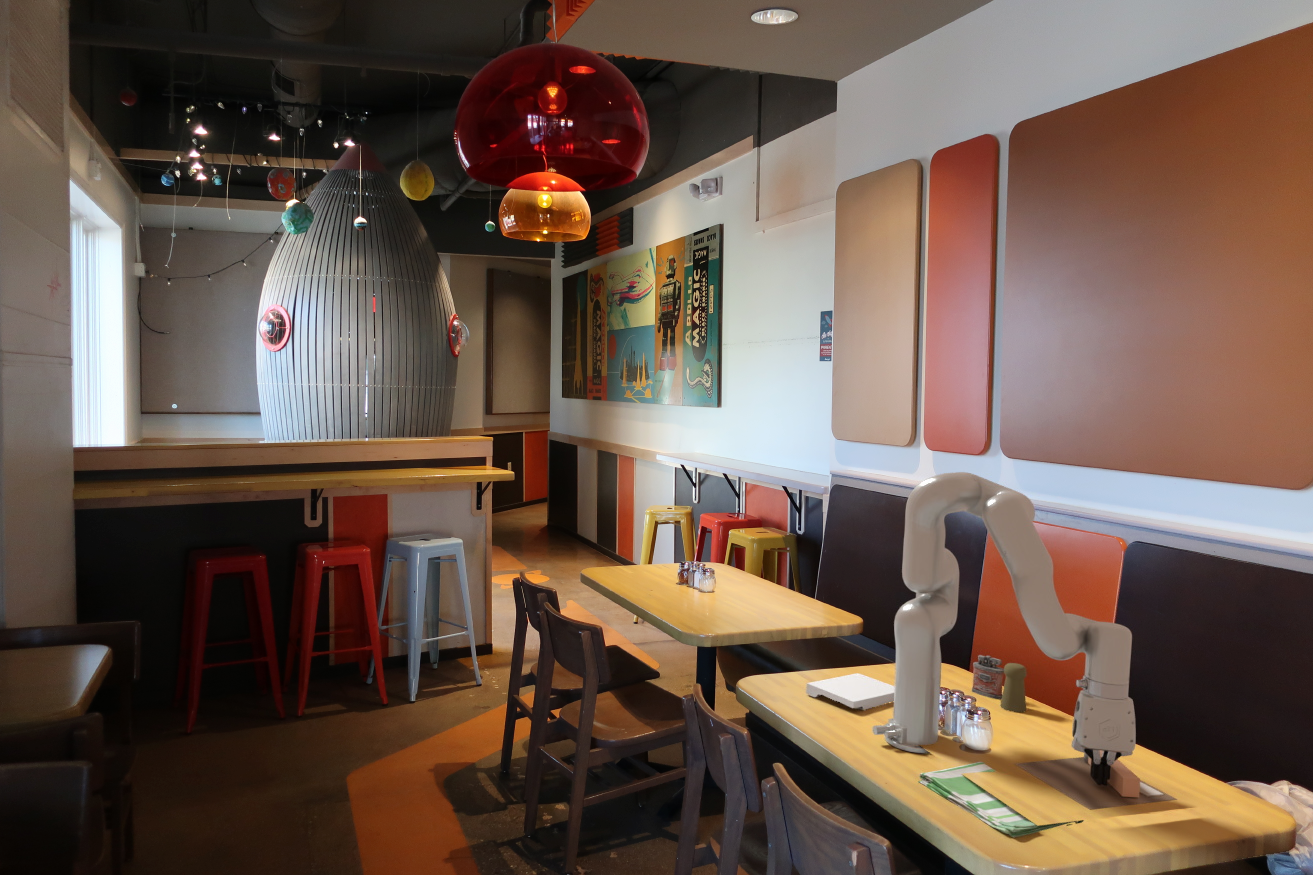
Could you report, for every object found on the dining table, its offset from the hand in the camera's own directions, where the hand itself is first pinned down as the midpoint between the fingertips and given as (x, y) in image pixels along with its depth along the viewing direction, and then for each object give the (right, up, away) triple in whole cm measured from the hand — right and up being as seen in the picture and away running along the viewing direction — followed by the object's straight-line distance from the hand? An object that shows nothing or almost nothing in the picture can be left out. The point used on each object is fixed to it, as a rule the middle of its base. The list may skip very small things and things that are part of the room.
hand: (1099, 781), depth 162 cm
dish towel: (-22, -2, -5) cm, 23 cm away
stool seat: (0, -2, +3) cm, 3 cm away
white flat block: (-35, 0, +51) cm, 62 cm away
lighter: (+1, -1, +57) cm, 57 cm away
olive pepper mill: (+4, -1, +47) cm, 47 cm away
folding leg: (+4, -1, +4) cm, 6 cm away
